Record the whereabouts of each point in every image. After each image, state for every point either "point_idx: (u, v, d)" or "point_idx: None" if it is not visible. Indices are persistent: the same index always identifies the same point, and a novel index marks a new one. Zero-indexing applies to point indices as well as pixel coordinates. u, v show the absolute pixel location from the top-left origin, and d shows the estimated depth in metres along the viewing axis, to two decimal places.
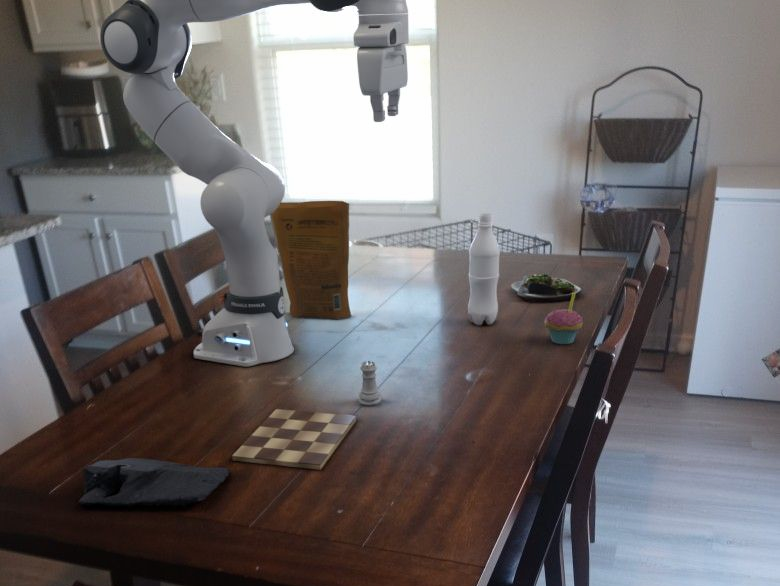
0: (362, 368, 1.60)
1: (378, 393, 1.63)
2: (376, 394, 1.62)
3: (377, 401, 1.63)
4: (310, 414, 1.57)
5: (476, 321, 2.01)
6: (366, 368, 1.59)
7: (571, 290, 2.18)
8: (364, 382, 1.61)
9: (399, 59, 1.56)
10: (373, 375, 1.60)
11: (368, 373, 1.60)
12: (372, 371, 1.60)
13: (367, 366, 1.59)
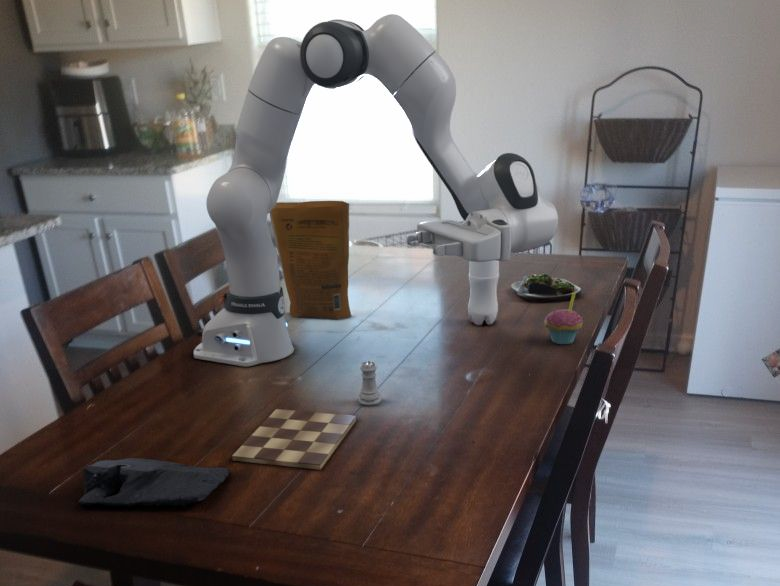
0: (362, 368, 1.60)
1: (378, 393, 1.63)
2: (376, 394, 1.62)
3: (377, 401, 1.63)
4: (310, 414, 1.57)
5: (476, 321, 2.01)
6: (366, 368, 1.59)
7: (571, 290, 2.18)
8: (364, 382, 1.61)
9: None
10: (373, 375, 1.60)
11: (368, 373, 1.60)
12: (372, 371, 1.60)
13: (367, 366, 1.59)
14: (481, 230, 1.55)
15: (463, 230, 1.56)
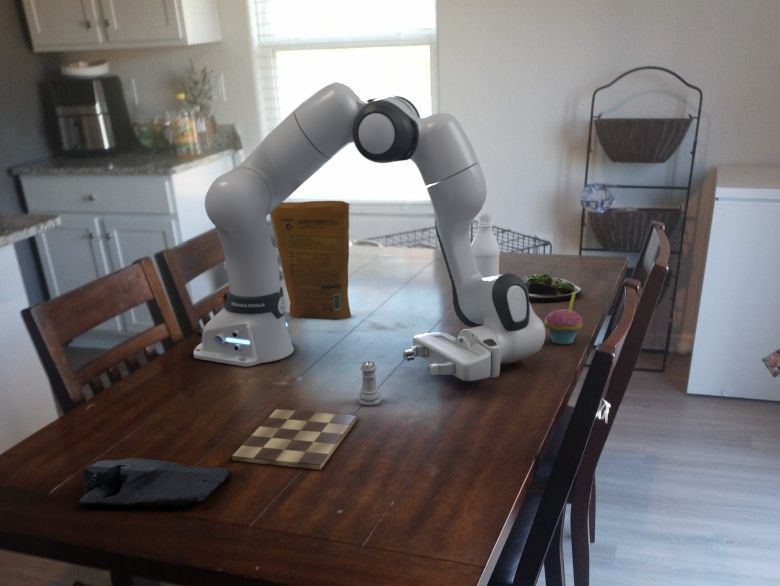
0: (362, 368, 1.60)
1: (378, 393, 1.63)
2: (376, 394, 1.62)
3: (377, 401, 1.63)
4: (310, 414, 1.57)
5: None
6: (366, 368, 1.59)
7: (571, 290, 2.18)
8: (364, 382, 1.61)
9: None
10: (373, 375, 1.60)
11: (368, 373, 1.60)
12: (372, 371, 1.60)
13: (367, 366, 1.59)
14: (472, 348, 1.66)
15: (456, 348, 1.67)
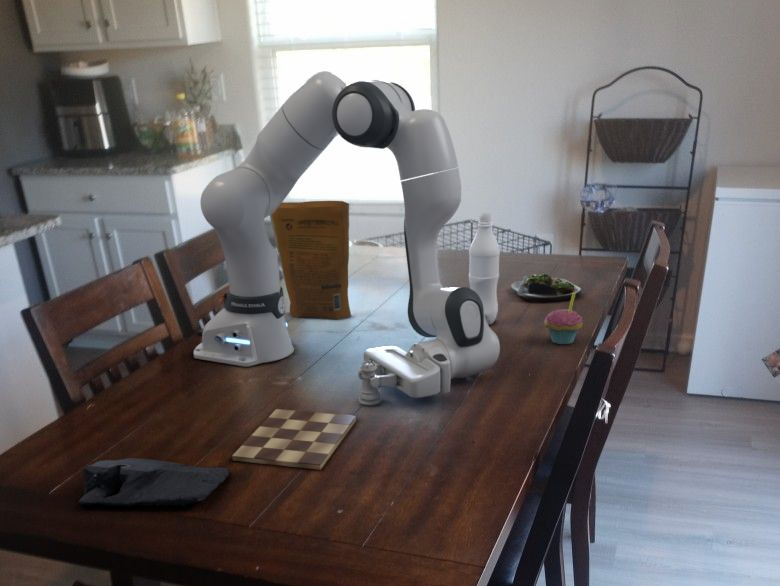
0: (362, 368, 1.60)
1: (378, 393, 1.63)
2: (376, 394, 1.62)
3: (377, 401, 1.63)
4: (310, 414, 1.57)
5: None
6: (366, 368, 1.59)
7: (571, 290, 2.18)
8: (364, 382, 1.61)
9: None
10: None
11: (368, 372, 1.60)
12: (372, 371, 1.60)
13: (367, 366, 1.59)
14: (422, 364, 1.61)
15: (405, 363, 1.63)
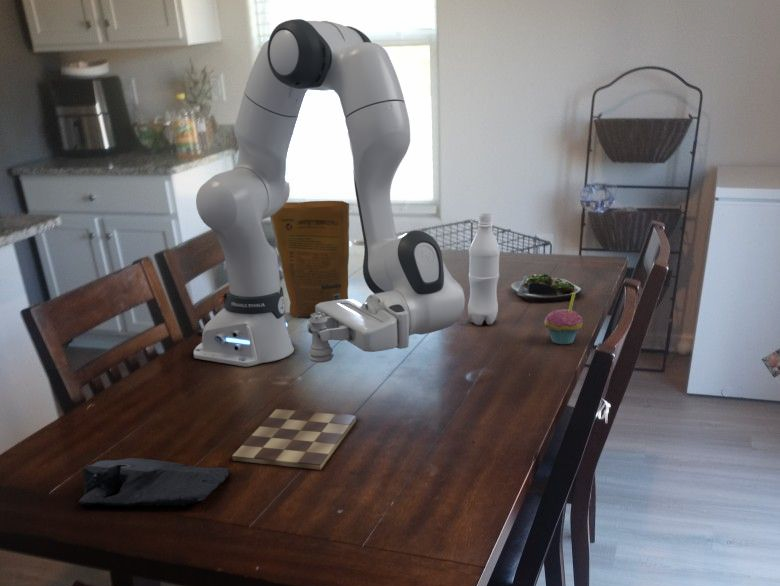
0: (311, 320, 1.44)
1: (330, 348, 1.47)
2: (327, 349, 1.47)
3: (328, 357, 1.47)
4: (310, 414, 1.57)
5: (476, 321, 2.01)
6: (315, 320, 1.44)
7: (571, 290, 2.18)
8: (314, 336, 1.46)
9: None
10: None
11: (317, 325, 1.44)
12: (322, 323, 1.44)
13: (316, 317, 1.44)
14: (377, 315, 1.46)
15: (360, 315, 1.47)
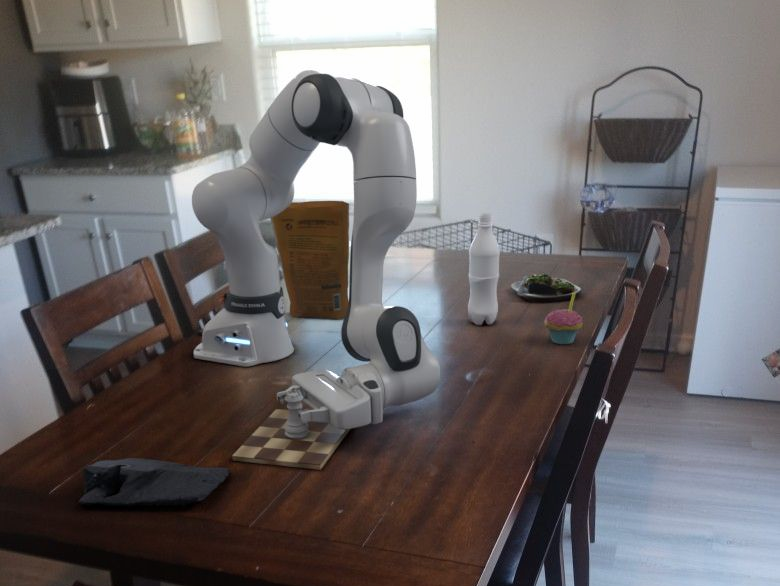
0: (286, 398, 1.45)
1: (306, 425, 1.48)
2: (302, 426, 1.48)
3: (304, 434, 1.48)
4: None
5: (476, 321, 2.01)
6: (291, 398, 1.45)
7: (571, 290, 2.18)
8: (289, 413, 1.47)
9: None
10: (299, 406, 1.46)
11: (293, 403, 1.45)
12: (297, 402, 1.45)
13: (292, 396, 1.45)
14: (352, 391, 1.47)
15: (334, 390, 1.48)
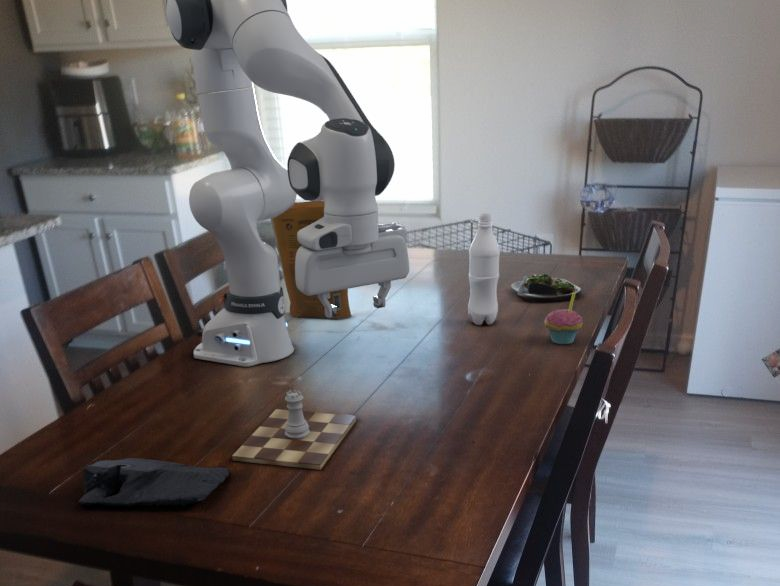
0: (286, 398, 1.45)
1: (306, 425, 1.48)
2: (302, 426, 1.48)
3: (304, 434, 1.48)
4: (310, 414, 1.57)
5: (476, 321, 2.01)
6: (291, 398, 1.45)
7: (571, 290, 2.18)
8: (289, 413, 1.47)
9: (381, 253, 1.41)
10: (299, 406, 1.46)
11: (293, 403, 1.45)
12: (297, 402, 1.45)
13: (292, 396, 1.45)
14: None
15: None
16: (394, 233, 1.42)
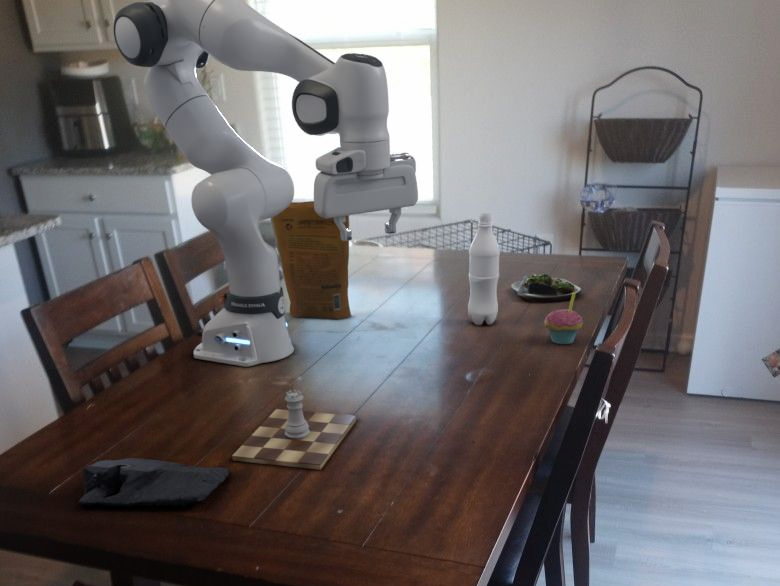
0: (286, 398, 1.45)
1: (306, 425, 1.48)
2: (302, 426, 1.48)
3: (304, 434, 1.48)
4: (310, 414, 1.57)
5: (476, 321, 2.01)
6: (291, 398, 1.45)
7: (571, 290, 2.18)
8: (289, 413, 1.47)
9: (392, 181, 1.53)
10: (299, 406, 1.46)
11: (293, 403, 1.45)
12: (297, 402, 1.45)
13: (292, 396, 1.45)
14: None
15: None
16: (404, 162, 1.54)
